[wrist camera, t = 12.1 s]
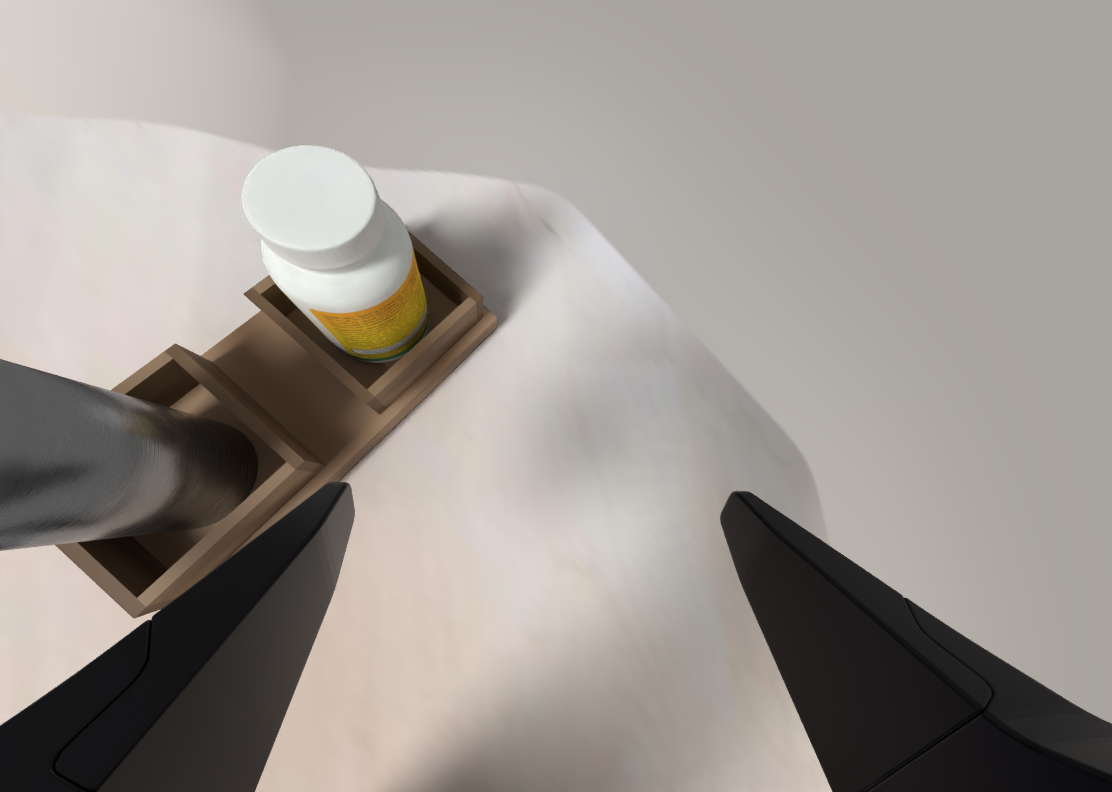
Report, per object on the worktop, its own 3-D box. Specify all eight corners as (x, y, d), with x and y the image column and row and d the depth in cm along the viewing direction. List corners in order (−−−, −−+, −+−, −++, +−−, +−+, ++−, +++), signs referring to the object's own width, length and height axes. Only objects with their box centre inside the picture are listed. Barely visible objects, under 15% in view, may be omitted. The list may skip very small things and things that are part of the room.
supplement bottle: (305, 331, 21) (169, 203, 12) (370, 259, 23) (294, 98, 13) (392, 385, 21) (324, 299, 12) (450, 310, 23) (429, 184, 14)
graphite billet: (237, 536, 18) (-32, 579, 9) (114, 521, 18) (-322, 551, 8) (272, 430, 20) (73, 367, 10) (160, 412, 19) (-167, 327, 9)
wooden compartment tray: (389, 234, 25) (372, 186, 21) (496, 328, 25) (499, 297, 21) (65, 485, 19) (-42, 482, 15) (202, 613, 19) (130, 643, 15)
